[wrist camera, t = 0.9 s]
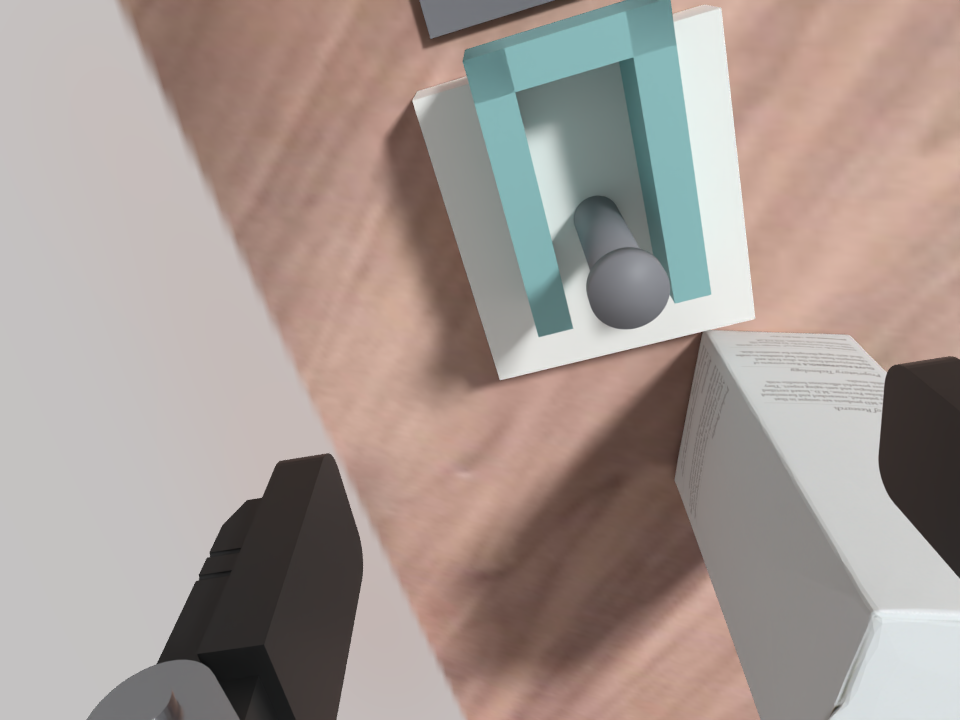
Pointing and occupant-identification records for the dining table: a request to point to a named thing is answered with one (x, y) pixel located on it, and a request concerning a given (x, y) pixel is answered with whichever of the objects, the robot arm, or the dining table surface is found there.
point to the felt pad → (468, 12)
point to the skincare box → (814, 534)
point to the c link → (654, 126)
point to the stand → (594, 208)
